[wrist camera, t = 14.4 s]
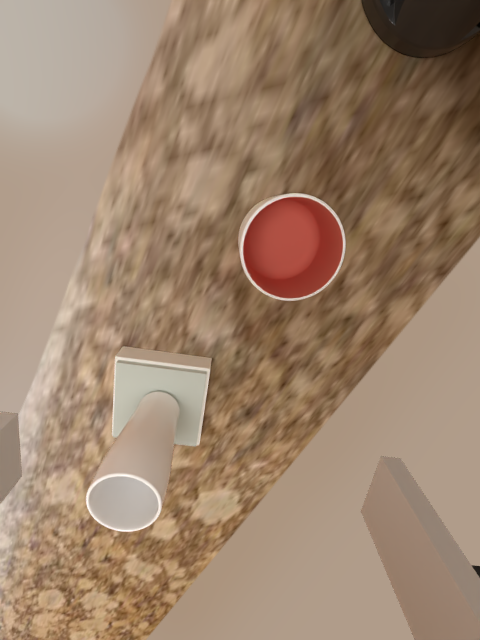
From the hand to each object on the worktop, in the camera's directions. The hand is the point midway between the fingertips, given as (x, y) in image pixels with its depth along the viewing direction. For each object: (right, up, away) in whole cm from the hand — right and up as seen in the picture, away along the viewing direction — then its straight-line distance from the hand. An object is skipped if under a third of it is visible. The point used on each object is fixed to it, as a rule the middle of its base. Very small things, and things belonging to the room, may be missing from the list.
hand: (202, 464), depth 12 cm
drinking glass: (-9, -6, +31) cm, 33 cm away
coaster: (-9, -5, +35) cm, 36 cm away
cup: (+6, +15, +29) cm, 33 cm away
